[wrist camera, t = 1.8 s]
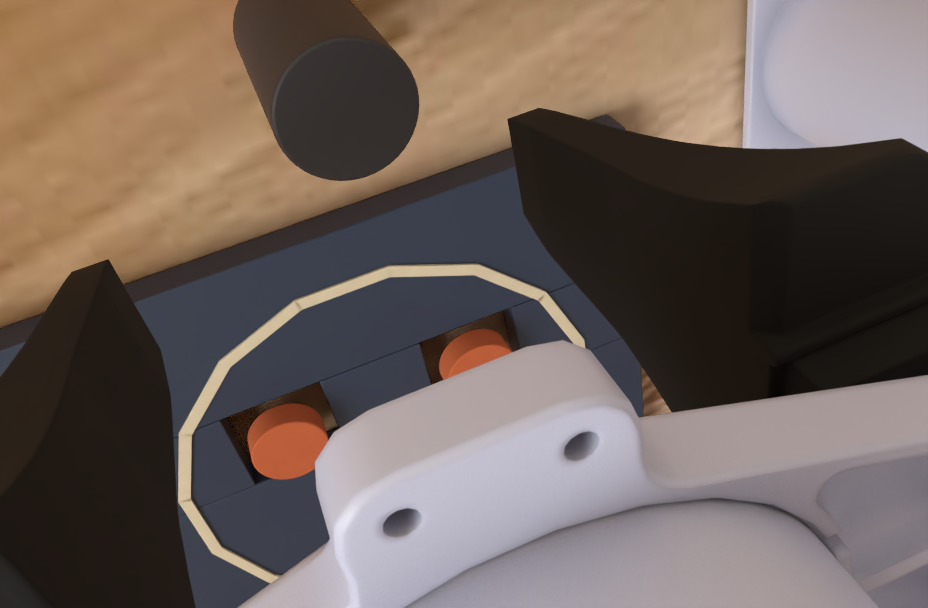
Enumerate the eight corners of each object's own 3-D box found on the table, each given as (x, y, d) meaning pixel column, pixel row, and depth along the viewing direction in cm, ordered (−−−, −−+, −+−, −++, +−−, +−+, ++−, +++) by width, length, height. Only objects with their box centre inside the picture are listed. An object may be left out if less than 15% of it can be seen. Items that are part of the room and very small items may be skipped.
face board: (607, 113, 27) (627, 128, 26) (635, 463, 38) (649, 483, 37) (-15, 332, 24) (-20, 359, 23) (217, 644, 35) (221, 671, 34)
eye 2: (500, 317, 29) (511, 334, 28) (511, 370, 30) (522, 387, 30) (431, 344, 28) (441, 362, 28) (446, 396, 30) (455, 414, 29)
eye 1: (310, 391, 28) (316, 410, 27) (332, 441, 29) (338, 461, 28) (236, 421, 27) (239, 441, 26) (262, 470, 29) (266, 491, 28)
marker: (323, -61, 21) (401, 16, 15) (354, 52, 23) (433, 154, 17) (209, -27, 20) (248, 65, 15) (250, 85, 22) (299, 201, 17)
